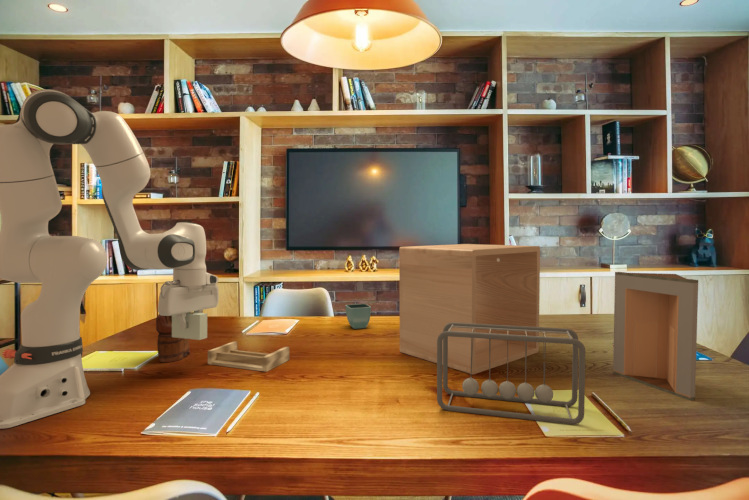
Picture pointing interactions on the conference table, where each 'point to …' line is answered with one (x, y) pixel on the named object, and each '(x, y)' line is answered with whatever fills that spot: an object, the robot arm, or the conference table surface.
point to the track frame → (246, 358)
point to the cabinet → (656, 331)
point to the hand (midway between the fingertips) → (190, 327)
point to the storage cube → (468, 300)
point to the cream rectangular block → (191, 326)
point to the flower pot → (358, 315)
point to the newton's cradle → (507, 388)
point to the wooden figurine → (169, 341)
